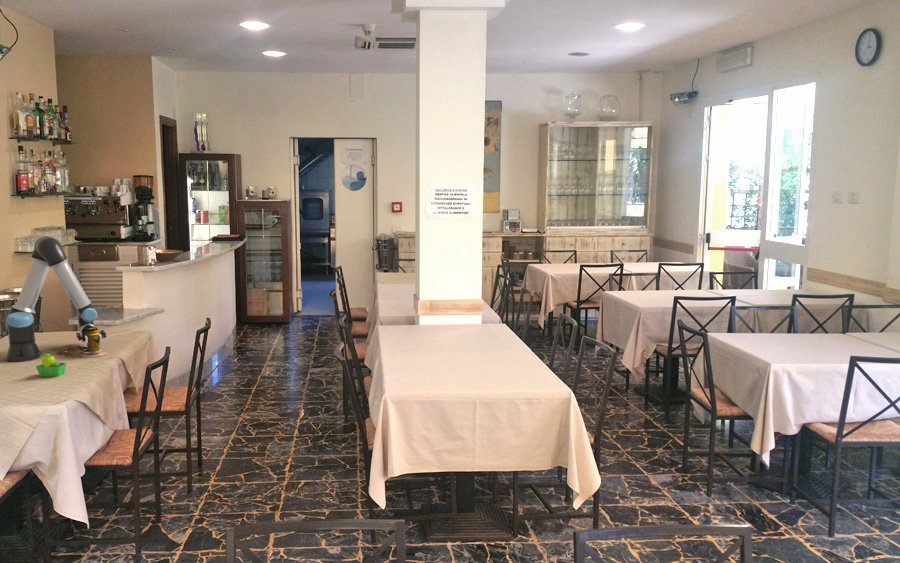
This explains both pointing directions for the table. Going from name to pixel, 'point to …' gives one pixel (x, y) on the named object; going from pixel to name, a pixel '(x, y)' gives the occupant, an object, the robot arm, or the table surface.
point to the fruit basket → (50, 367)
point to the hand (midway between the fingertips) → (94, 339)
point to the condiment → (92, 340)
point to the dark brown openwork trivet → (72, 349)
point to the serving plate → (94, 354)
